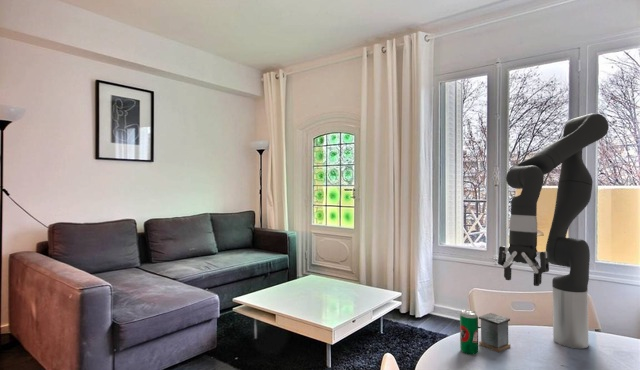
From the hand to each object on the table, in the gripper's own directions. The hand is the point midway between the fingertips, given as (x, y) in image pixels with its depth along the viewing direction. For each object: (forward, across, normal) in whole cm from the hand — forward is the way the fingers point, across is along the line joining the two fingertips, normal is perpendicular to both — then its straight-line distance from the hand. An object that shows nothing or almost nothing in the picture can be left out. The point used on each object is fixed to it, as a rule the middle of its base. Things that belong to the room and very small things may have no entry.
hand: (521, 282), depth 111 cm
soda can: (+22, +8, +14) cm, 27 cm away
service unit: (+20, +6, +4) cm, 22 cm away
